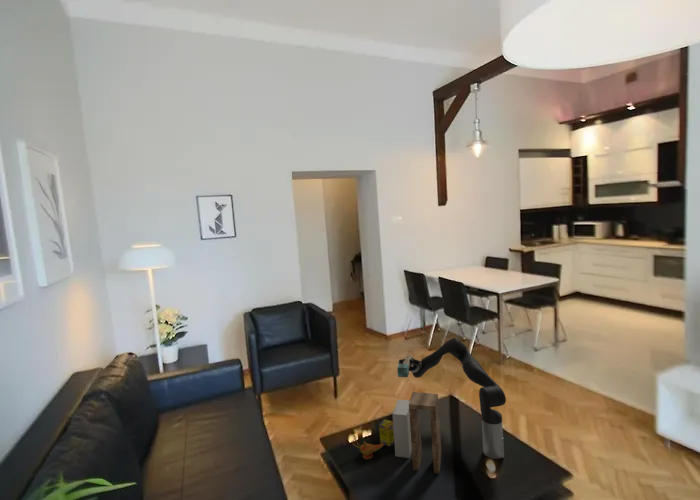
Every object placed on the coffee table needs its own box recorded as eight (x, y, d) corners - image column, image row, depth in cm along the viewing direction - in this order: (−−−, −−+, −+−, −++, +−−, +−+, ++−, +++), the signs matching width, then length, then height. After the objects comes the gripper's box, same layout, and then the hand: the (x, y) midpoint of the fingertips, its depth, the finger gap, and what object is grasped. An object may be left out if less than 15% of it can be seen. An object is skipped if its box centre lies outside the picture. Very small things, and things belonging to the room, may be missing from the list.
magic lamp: (388, 460, 182) (387, 438, 181) (352, 460, 185) (350, 438, 184) (389, 451, 189) (387, 430, 188) (353, 451, 191) (352, 430, 190)
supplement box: (389, 447, 192) (388, 427, 191) (380, 444, 196) (378, 424, 195) (395, 441, 197) (394, 421, 196) (386, 438, 200) (384, 418, 199)
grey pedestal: (414, 440, 196) (411, 400, 194) (409, 458, 183) (406, 415, 181) (400, 439, 199) (398, 399, 197) (395, 456, 185) (392, 413, 183)
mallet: (413, 360, 213) (413, 352, 213) (407, 377, 193) (406, 368, 192) (405, 360, 215) (404, 351, 214) (397, 376, 194) (397, 367, 194)
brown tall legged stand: (441, 457, 182) (437, 393, 179) (439, 473, 170) (435, 406, 168) (416, 453, 185) (412, 392, 183) (413, 469, 174) (408, 404, 171)
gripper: (400, 358, 225) (394, 353, 210) (424, 359, 220) (419, 354, 205) (400, 371, 222) (394, 367, 207) (424, 372, 217) (419, 368, 203)
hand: (406, 360), depth 206 cm, fingers closed on mallet, 3 cm apart
